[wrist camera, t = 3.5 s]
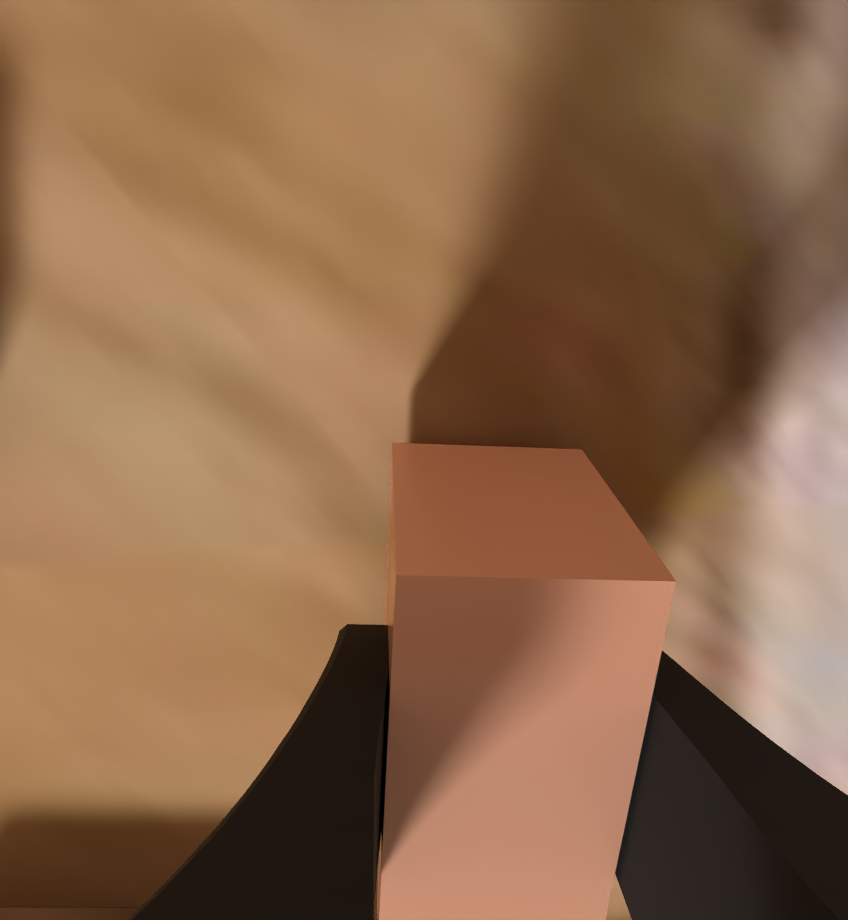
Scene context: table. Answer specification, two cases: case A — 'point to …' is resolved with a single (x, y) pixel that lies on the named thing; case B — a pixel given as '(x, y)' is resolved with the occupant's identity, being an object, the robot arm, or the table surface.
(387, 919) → the terracotta brick
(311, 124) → the table surface
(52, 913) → the walnut block
